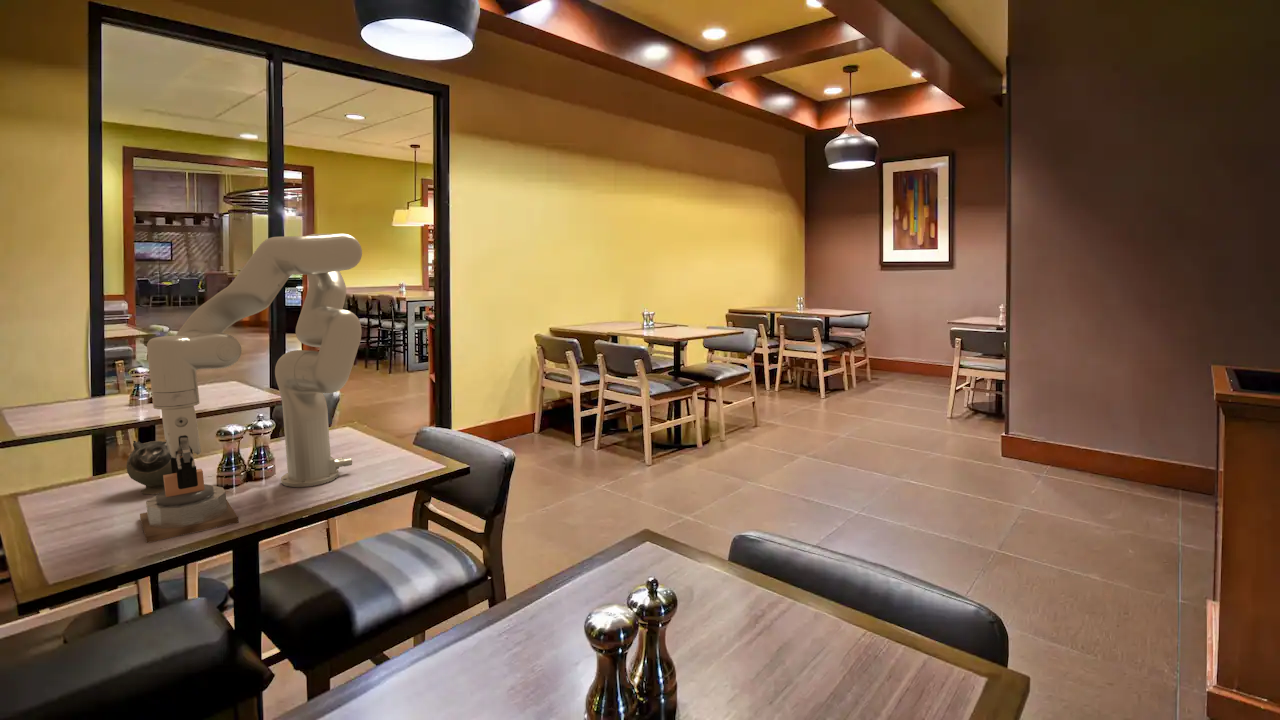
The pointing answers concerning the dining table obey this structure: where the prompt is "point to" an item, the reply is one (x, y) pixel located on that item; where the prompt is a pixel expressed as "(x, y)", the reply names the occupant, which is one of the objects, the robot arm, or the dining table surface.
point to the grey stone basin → (187, 511)
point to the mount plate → (160, 534)
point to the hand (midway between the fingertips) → (184, 481)
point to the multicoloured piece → (183, 491)
